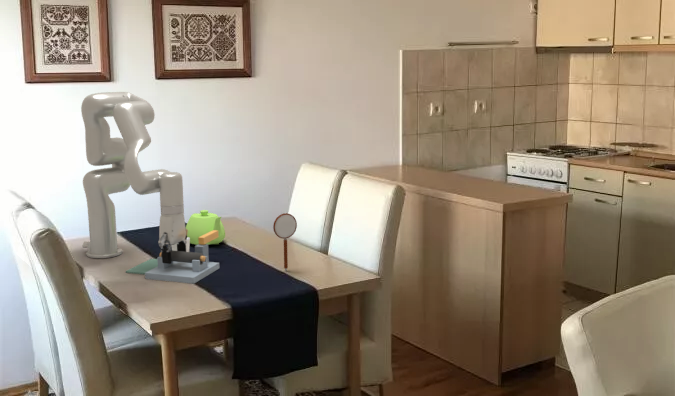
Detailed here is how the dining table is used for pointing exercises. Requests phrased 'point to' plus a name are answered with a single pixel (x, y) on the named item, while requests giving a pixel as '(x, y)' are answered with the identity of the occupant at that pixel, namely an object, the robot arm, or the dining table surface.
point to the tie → (208, 237)
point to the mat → (143, 267)
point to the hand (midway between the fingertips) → (174, 259)
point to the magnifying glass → (285, 231)
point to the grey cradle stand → (184, 269)
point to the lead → (186, 256)
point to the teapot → (204, 227)
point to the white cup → (174, 247)
